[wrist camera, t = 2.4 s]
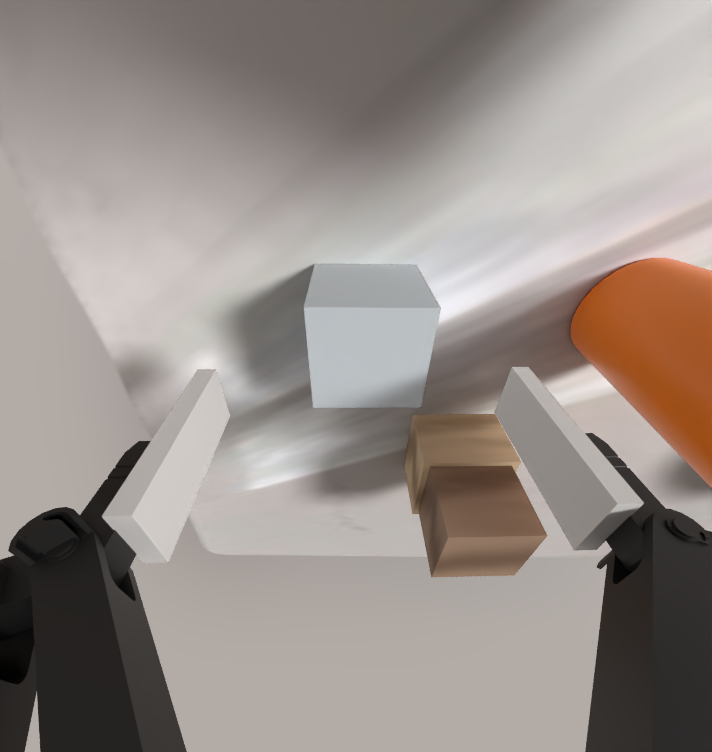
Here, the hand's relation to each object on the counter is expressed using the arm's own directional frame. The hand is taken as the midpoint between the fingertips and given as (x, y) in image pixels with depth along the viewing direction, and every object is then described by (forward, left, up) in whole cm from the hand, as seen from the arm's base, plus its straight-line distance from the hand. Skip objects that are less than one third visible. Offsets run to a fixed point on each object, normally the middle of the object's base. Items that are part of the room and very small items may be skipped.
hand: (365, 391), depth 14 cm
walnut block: (+12, +8, -3) cm, 15 cm away
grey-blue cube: (0, 0, -8) cm, 8 cm away
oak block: (+13, +8, -8) cm, 17 cm away
